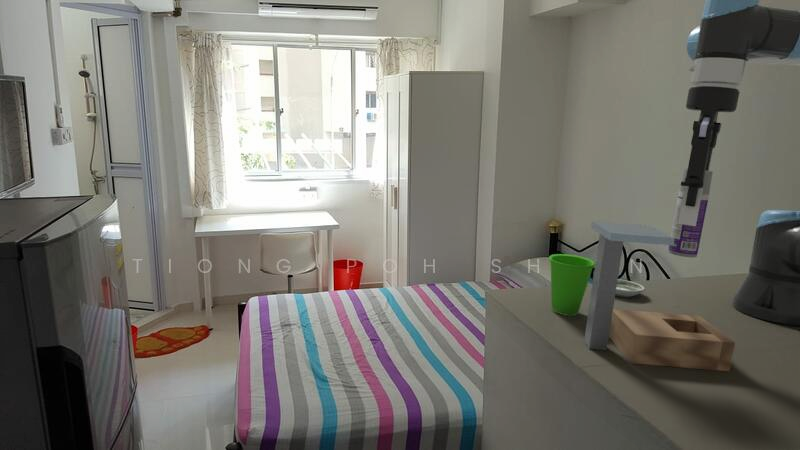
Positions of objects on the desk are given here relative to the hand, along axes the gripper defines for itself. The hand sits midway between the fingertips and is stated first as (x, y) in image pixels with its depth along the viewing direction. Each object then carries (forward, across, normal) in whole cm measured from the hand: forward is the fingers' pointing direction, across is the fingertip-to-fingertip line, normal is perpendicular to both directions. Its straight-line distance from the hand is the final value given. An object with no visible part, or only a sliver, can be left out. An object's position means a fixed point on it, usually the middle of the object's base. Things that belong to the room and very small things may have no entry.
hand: (688, 222), depth 97 cm
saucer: (+23, -24, -13) cm, 36 cm away
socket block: (+22, +6, 0) cm, 23 cm away
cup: (+23, -2, -19) cm, 30 cm away
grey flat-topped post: (+22, +11, -7) cm, 26 cm away
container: (+6, 0, 0) cm, 6 cm away
